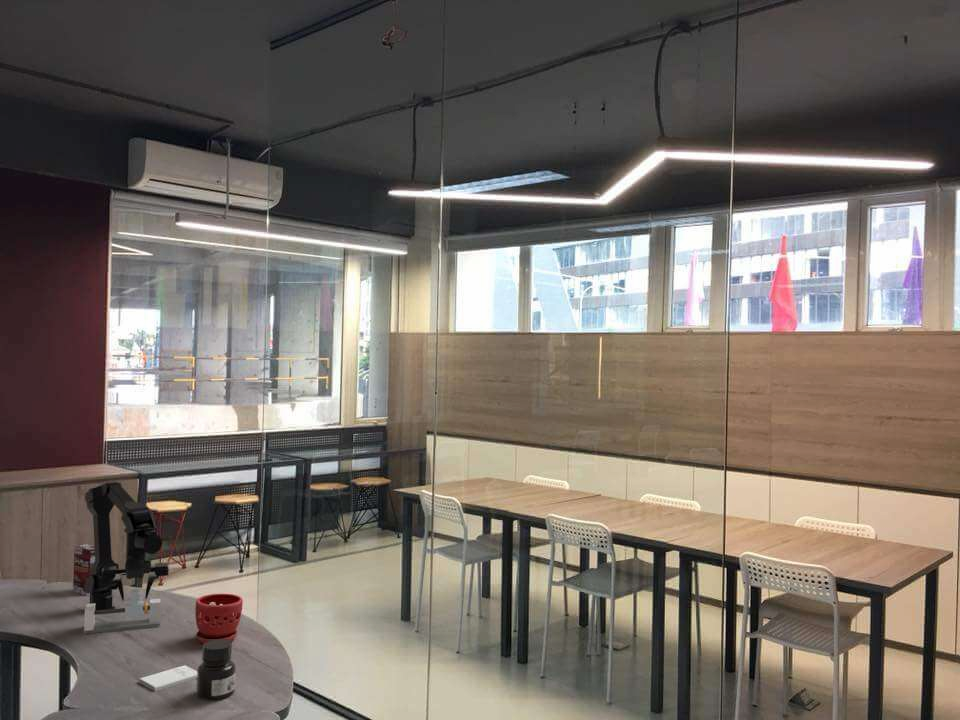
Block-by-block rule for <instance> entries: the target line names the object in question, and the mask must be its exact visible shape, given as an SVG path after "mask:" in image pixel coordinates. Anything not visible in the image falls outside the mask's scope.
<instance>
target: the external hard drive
mask: <svg viewBox="0 0 960 720" xmlns="http://www.w3.org/2000/svg"><path fill="white" fill-rule="evenodd" d="M195 679H197V670H195V668H194V669H193V668H191V667H190V666H187V665H182V666H178V667H174V668H171V669H168V670H164V671H161V672H157V673H154V674H149V675H147V676H143V677H140V678H138V683H139V684H141V685H142V686H145V687H147V688H148V689H150V690H152V691H154V692H159V691H161V690H164V689H167V688H170V687H173V686H177V685H179V684H183V683H186V682H189V681H192V680H195Z"/></svg>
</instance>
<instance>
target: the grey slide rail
mask: <svg viewBox="0 0 960 720" xmlns="http://www.w3.org/2000/svg"><path fill="white" fill-rule="evenodd" d="M119 613H120V614H121V613H125V607H121V608H114V609H109V610H97V611H95V604H90V603H87V604H86V606H85V609H84V624H83V630H82V635H88V634H87V633H91V634H99V633H98V632H101V633H108V632H107V631H111V632H121V631H128V630H138V629H151V627H152V628H159V627H158V626H160V627H161V598H153V599H149V602H144V605H143V615H144V614H145V615H146V614H149V616H148V617H137V618H131V619H130V618H129V619H120V620H108V621H98V622H97V621H96V615H108V614H109V615H110V614H119ZM120 630H121V631H120Z"/></svg>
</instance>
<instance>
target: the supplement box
mask: <svg viewBox="0 0 960 720" xmlns="http://www.w3.org/2000/svg"><path fill="white" fill-rule="evenodd" d="M73 552H74V553H73V579H72V580H73V581H72V584H73V585H72V586H73V587H72V592H73V591H74V593H78V592H80V593H79V594H81V593H84V594H83V595H85V594H88V595H87V596H90V595H89V593H87V592H85V588H84V585H85V583H86V582H87V580H88V578H89V577H90V569H91V567H92V566H93V564H94V562H95V545H91V544H87V543H84V544H79V545H75V546H74V549H73Z"/></svg>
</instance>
